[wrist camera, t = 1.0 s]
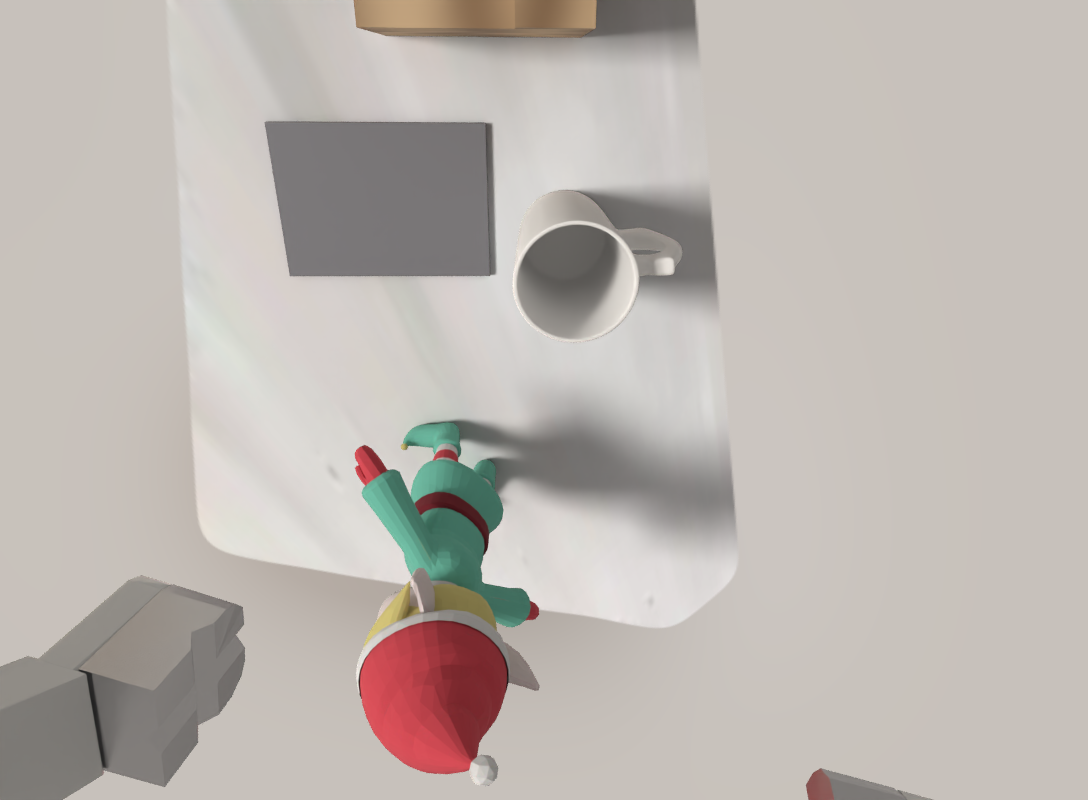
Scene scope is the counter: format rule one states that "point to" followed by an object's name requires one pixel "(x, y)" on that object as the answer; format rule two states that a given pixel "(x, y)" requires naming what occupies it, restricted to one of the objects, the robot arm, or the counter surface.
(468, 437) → the counter surface
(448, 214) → the mat
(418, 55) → the counter surface
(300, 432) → the counter surface
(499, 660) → the toy
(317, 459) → the counter surface
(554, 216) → the mug
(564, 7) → the slot box
